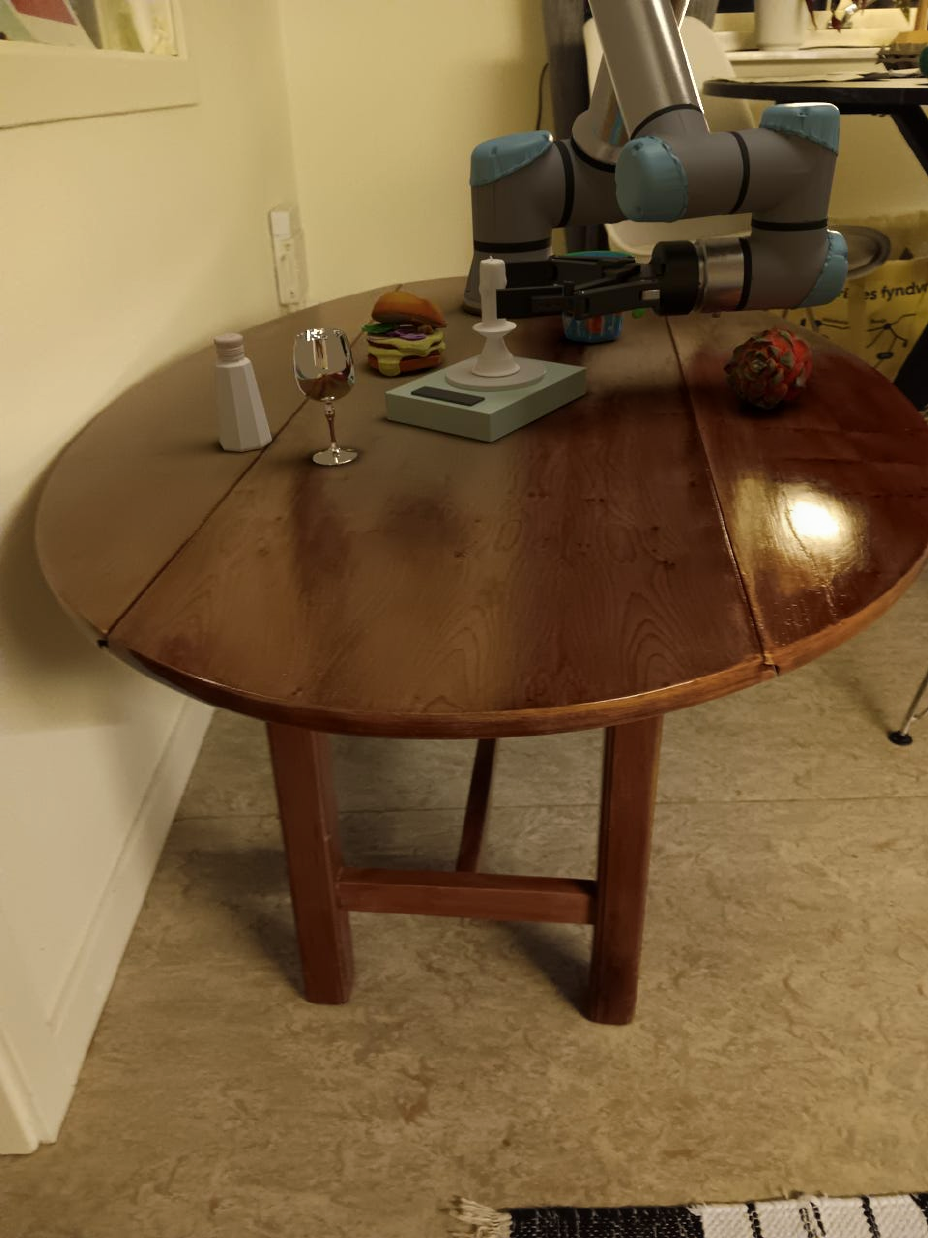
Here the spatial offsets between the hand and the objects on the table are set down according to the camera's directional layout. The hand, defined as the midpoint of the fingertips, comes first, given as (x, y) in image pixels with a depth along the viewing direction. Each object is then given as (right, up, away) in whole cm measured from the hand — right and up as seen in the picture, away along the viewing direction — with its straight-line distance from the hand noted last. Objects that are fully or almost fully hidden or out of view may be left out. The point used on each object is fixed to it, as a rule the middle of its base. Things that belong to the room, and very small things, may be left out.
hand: (491, 289), depth 100 cm
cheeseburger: (-10, -2, +21) cm, 23 cm away
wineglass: (-16, -19, -6) cm, 25 cm away
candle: (+1, -8, +4) cm, 9 cm away
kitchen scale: (0, -11, +5) cm, 12 cm away
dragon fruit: (+29, -11, +2) cm, 32 cm away
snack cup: (+14, +3, +28) cm, 32 cm away
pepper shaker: (-25, -16, -1) cm, 30 cm away
